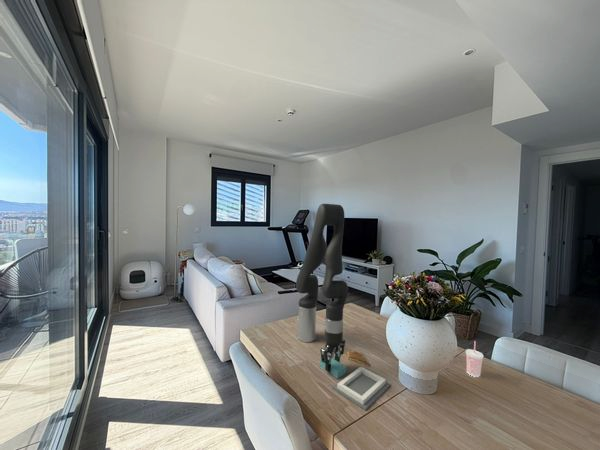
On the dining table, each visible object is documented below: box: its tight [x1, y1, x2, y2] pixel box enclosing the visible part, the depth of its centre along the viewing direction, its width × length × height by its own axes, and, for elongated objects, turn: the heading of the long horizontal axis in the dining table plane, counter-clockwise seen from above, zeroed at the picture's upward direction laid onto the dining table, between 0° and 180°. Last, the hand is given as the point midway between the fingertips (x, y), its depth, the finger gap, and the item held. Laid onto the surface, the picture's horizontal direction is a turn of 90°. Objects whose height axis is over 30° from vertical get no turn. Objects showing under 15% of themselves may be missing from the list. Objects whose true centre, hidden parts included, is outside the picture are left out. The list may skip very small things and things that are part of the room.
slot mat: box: [331, 366, 392, 411], centre depth 93 cm, size 14×18×2 cm
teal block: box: [319, 357, 347, 379], centre depth 103 cm, size 10×5×3 cm, turn 38°
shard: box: [347, 350, 371, 367], centre depth 111 cm, size 11×8×2 cm
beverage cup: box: [465, 340, 484, 378], centre depth 103 cm, size 6×6×14 cm
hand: (332, 368), depth 103 cm, fingers closed on teal block, 5 cm apart
